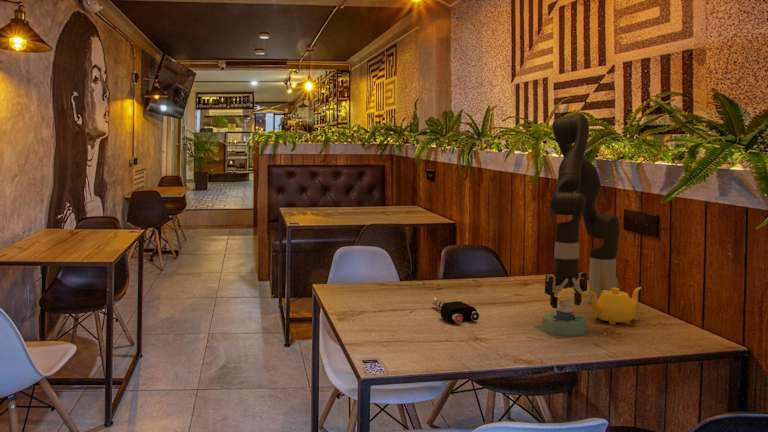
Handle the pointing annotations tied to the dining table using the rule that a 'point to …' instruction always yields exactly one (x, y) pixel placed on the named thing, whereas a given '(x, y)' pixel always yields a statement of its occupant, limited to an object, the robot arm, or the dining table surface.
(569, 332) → the green faceted planter
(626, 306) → the teapot
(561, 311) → the pill bottle
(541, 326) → the felt mat
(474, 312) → the audio adapter
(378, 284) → the dining table surface
